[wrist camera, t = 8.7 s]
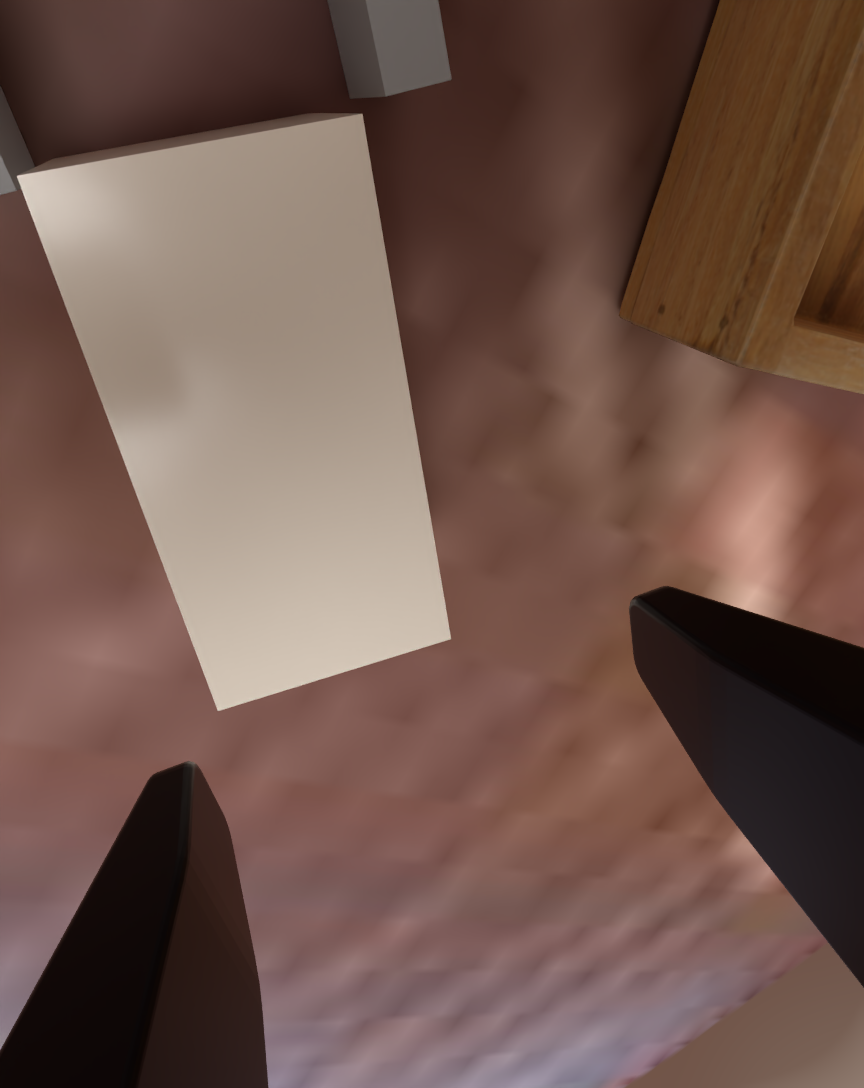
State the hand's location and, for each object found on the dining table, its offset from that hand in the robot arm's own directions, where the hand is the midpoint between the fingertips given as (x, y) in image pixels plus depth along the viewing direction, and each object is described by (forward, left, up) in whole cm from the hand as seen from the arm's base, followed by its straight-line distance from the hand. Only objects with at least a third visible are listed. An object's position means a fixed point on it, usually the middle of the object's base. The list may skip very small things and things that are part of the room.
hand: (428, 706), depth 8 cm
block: (0, -1, -12) cm, 12 cm away
